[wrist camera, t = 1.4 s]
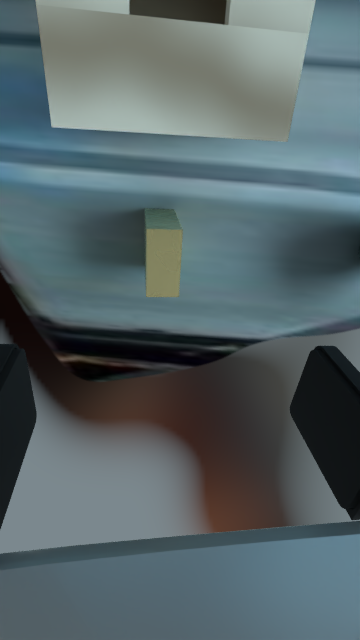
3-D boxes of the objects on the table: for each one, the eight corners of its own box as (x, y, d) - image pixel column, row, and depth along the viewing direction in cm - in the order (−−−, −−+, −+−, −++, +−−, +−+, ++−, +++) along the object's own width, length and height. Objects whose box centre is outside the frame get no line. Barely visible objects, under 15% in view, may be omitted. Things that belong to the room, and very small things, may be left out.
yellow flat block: (171, 266, 29) (178, 296, 24) (144, 266, 29) (146, 297, 24) (173, 209, 26) (182, 229, 21) (144, 208, 26) (146, 228, 21)
